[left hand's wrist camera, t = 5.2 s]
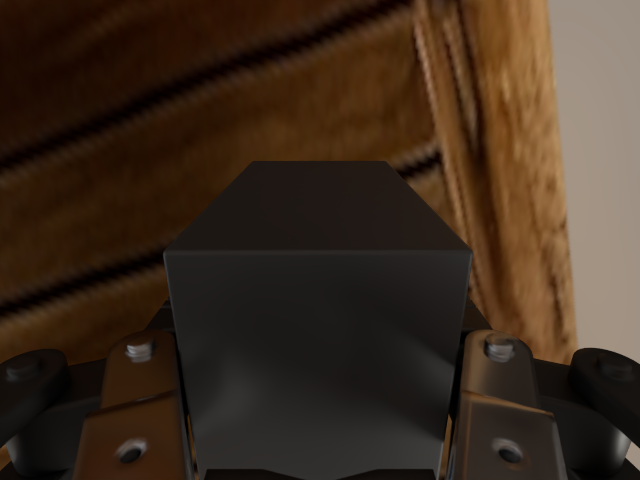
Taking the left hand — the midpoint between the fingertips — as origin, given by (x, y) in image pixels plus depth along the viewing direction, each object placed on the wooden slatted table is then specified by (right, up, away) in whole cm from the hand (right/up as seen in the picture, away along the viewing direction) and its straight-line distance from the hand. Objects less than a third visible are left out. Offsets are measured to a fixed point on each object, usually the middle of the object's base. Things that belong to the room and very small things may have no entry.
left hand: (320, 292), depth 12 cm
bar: (0, -6, +8) cm, 10 cm away
